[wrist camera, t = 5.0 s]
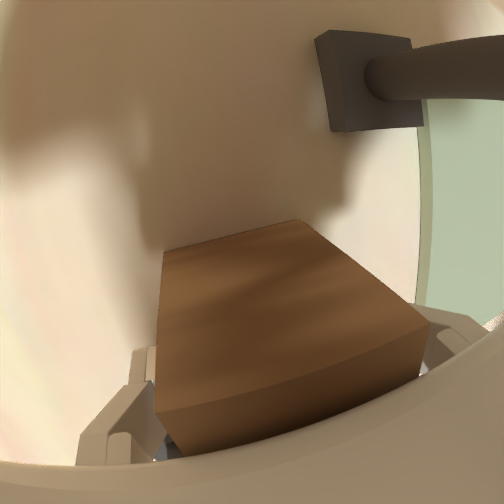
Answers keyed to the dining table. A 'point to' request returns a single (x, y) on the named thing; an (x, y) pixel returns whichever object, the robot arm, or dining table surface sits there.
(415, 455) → the robot arm
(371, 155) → the dining table surface
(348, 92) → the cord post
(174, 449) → the post
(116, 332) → the dining table surface
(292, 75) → the dining table surface
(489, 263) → the board
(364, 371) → the walnut block
